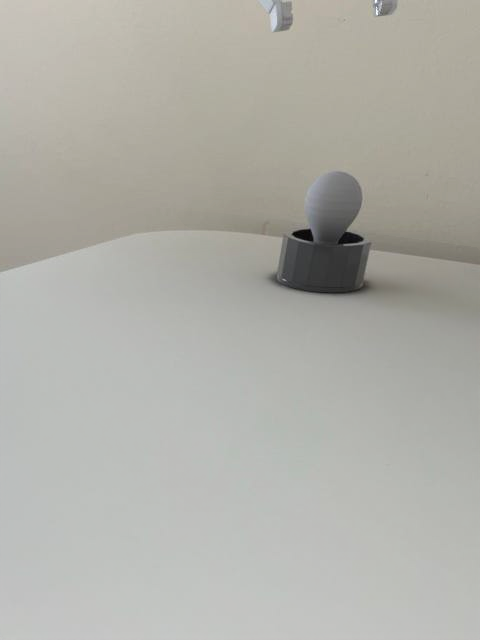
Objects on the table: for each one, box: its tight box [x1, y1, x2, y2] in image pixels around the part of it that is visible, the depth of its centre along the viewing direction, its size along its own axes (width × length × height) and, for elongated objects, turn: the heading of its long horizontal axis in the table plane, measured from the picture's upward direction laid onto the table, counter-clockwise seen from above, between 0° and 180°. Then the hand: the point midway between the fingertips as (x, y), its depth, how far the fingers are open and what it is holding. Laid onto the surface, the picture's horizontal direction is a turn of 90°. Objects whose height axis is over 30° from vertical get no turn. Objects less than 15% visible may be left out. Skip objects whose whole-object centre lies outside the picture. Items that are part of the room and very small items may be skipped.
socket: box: [276, 226, 373, 294], centre depth 102 cm, size 9×9×4 cm
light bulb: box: [304, 170, 363, 244], centre depth 100 cm, size 6×6×10 cm
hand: (334, 20), depth 89 cm, fingers open, 8 cm apart
